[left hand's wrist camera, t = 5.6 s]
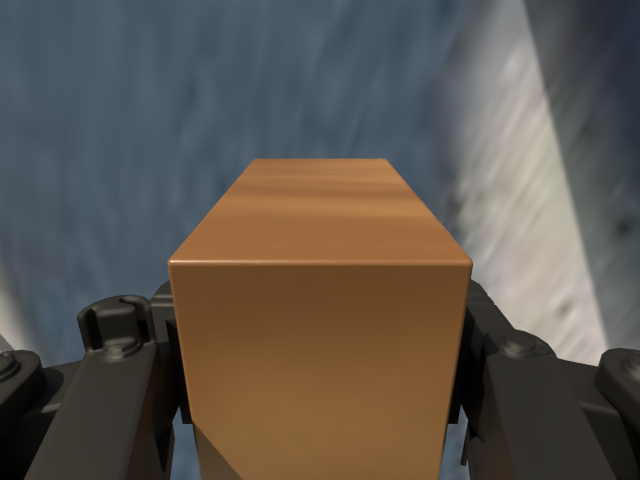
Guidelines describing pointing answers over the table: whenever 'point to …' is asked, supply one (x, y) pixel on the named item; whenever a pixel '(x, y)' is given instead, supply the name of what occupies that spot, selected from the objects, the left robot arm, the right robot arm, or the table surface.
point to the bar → (320, 325)
